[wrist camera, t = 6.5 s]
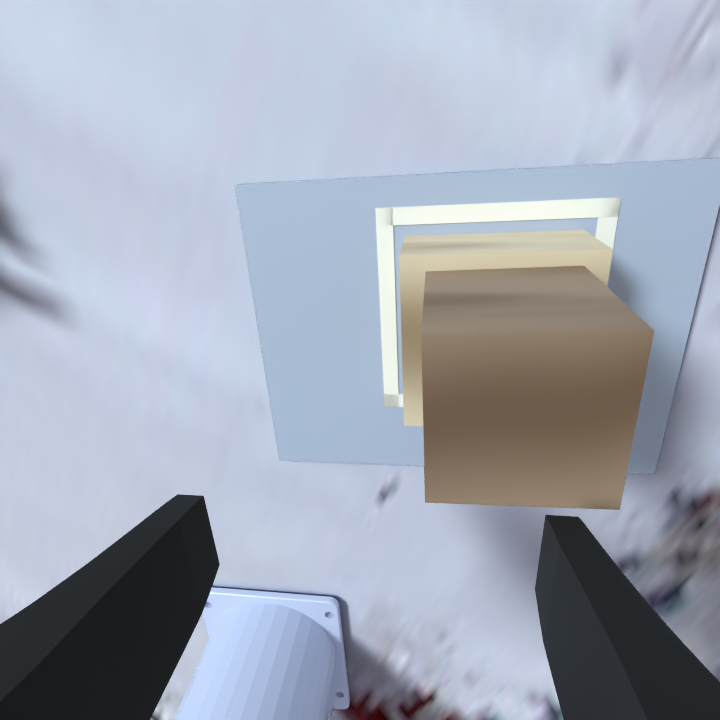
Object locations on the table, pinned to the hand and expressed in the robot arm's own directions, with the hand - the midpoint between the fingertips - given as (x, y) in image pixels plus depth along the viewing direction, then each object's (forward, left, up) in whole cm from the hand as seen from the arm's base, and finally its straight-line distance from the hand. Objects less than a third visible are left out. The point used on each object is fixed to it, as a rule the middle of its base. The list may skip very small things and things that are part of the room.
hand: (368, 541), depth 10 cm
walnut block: (+2, -3, -7) cm, 8 cm away
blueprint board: (0, -2, -10) cm, 11 cm away
